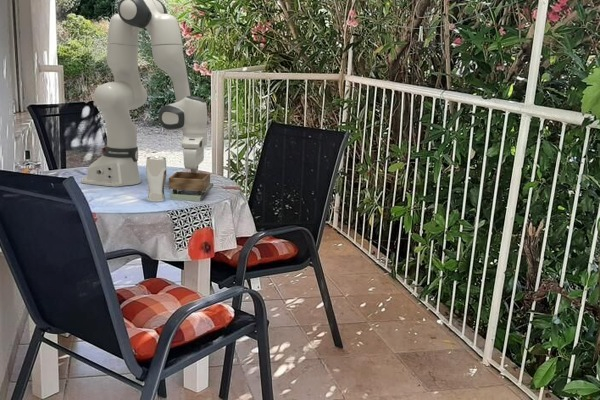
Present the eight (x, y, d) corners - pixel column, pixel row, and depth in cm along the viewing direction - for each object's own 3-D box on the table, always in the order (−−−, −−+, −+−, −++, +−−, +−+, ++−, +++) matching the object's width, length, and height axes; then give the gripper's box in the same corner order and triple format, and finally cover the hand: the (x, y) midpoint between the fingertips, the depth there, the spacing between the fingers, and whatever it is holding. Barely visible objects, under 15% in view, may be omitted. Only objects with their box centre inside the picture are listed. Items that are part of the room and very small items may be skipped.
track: (170, 199, 215) (170, 194, 214) (186, 183, 241) (186, 179, 241) (200, 201, 215) (200, 195, 214) (213, 185, 241) (213, 180, 241)
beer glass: (170, 200, 213) (170, 158, 210) (152, 203, 208) (152, 160, 205) (159, 196, 218) (159, 155, 215) (142, 199, 213) (142, 157, 210)
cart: (168, 195, 216) (168, 178, 214) (176, 187, 228) (176, 171, 226) (203, 197, 215) (204, 180, 214) (209, 189, 228) (210, 173, 226)
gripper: (192, 136, 235) (191, 171, 238) (180, 143, 215) (180, 181, 219) (208, 137, 235) (207, 172, 238) (198, 144, 215) (197, 182, 218)
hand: (194, 176), depth 228 cm, fingers closed
